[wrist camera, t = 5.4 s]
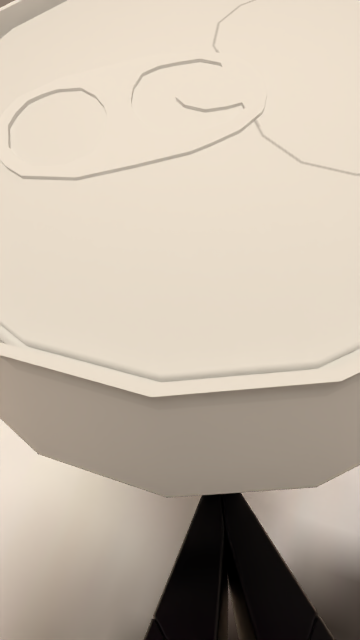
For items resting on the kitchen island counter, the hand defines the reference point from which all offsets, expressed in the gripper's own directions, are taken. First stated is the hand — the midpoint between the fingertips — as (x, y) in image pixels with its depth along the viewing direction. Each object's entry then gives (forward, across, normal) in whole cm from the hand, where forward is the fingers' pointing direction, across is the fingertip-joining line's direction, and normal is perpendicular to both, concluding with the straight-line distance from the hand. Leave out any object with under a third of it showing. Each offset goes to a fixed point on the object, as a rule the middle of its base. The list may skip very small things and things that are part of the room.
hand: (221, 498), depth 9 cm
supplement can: (+8, 0, +2) cm, 8 cm away
